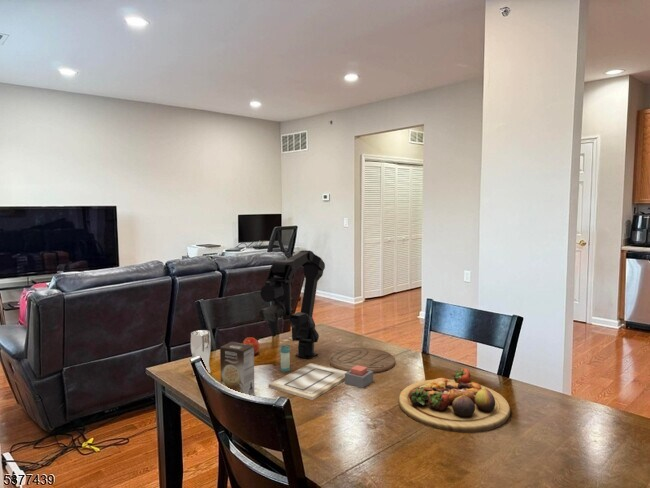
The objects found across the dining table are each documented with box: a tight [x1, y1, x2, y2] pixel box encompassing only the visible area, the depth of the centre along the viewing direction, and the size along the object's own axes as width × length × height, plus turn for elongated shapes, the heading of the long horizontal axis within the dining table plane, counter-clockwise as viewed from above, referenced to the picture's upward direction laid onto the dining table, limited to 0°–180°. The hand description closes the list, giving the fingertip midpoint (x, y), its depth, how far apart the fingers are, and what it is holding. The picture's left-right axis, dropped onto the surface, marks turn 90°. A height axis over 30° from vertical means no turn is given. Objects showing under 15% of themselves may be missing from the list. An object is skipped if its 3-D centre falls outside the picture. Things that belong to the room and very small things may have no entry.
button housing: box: [344, 370, 374, 389], centre depth 152 cm, size 7×7×4 cm
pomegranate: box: [242, 336, 261, 355], centre depth 181 cm, size 7×7×10 cm
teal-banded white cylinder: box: [279, 344, 291, 373], centre depth 163 cm, size 3×3×9 cm
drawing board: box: [267, 362, 347, 401], centre depth 153 cm, size 24×18×1 cm
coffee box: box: [219, 341, 255, 396], centre depth 142 cm, size 9×6×16 cm
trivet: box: [328, 347, 396, 375], centre depth 172 cm, size 25×25×2 cm
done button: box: [351, 365, 367, 376], centre depth 152 cm, size 4×4×3 cm
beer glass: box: [190, 329, 212, 376], centre depth 160 cm, size 7×7×15 cm
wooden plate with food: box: [397, 368, 511, 433], centre depth 134 cm, size 32×32×8 cm
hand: (283, 338), depth 163 cm, fingers open, 9 cm apart
